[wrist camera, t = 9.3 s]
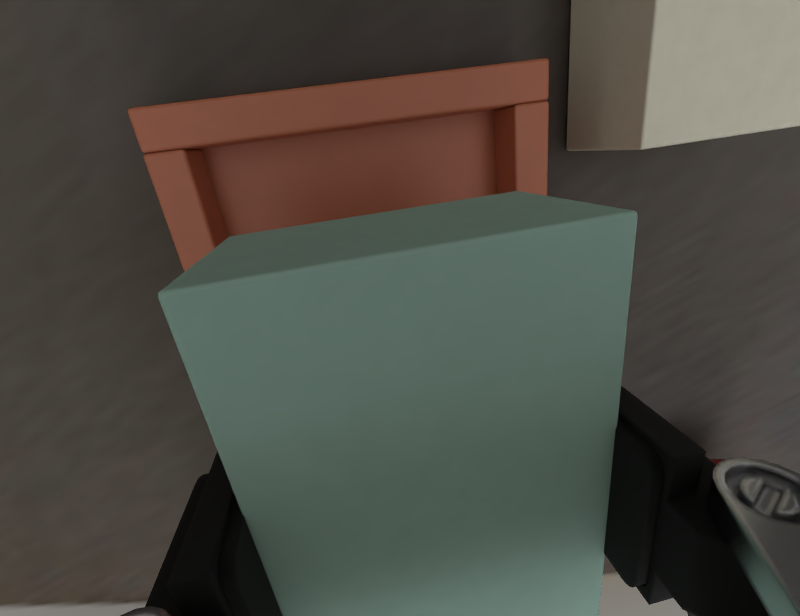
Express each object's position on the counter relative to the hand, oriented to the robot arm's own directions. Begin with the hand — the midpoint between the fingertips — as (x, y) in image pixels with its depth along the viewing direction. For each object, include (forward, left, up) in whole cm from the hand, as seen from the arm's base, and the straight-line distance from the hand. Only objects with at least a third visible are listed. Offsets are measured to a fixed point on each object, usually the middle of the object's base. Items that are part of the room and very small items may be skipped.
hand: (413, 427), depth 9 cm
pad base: (0, 0, -1) cm, 1 cm away
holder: (0, 0, -6) cm, 6 cm away
